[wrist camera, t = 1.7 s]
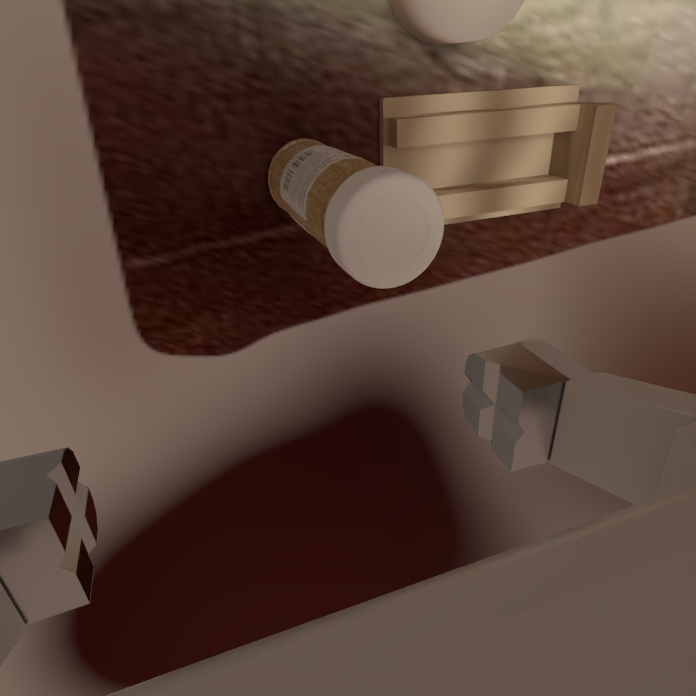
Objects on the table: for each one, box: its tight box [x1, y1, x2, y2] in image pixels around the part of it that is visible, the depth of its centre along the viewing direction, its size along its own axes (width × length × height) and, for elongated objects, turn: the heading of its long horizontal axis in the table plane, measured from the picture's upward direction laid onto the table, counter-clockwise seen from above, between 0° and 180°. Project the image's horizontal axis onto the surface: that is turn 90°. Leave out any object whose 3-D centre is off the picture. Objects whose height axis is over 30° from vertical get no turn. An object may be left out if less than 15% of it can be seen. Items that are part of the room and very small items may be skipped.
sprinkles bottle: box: [268, 138, 444, 288], centre depth 25 cm, size 5×4×13 cm
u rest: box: [379, 85, 617, 225], centre depth 32 cm, size 14×8×4 cm, turn 93°
